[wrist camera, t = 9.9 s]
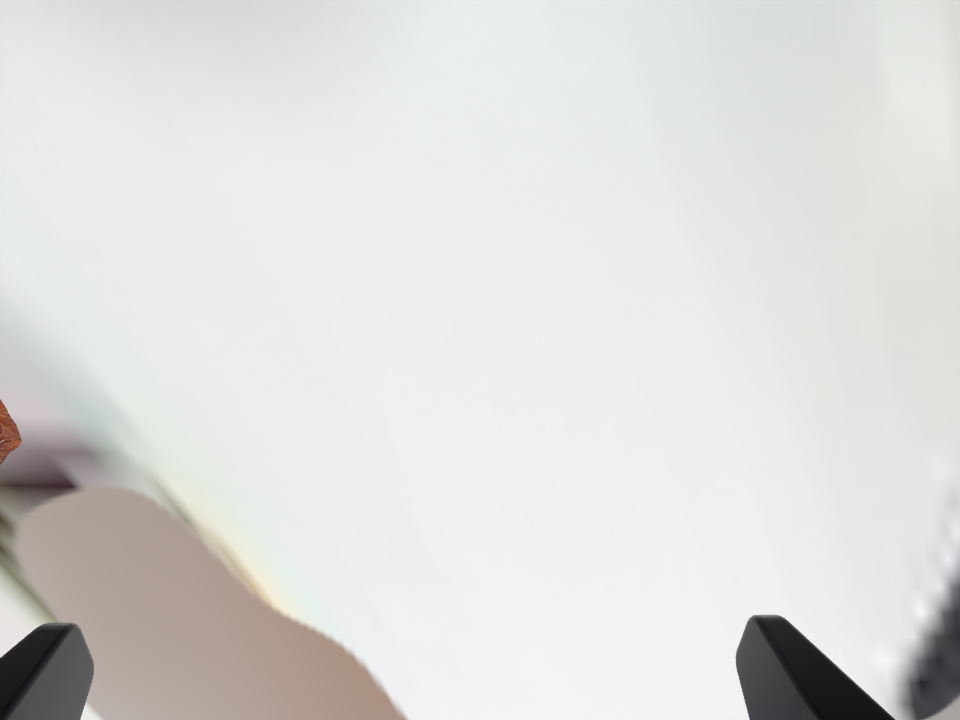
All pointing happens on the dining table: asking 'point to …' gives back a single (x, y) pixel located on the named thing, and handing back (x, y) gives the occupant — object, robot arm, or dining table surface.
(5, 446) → the wooden tablet
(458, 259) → the dining table surface
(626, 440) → the dining table surface
